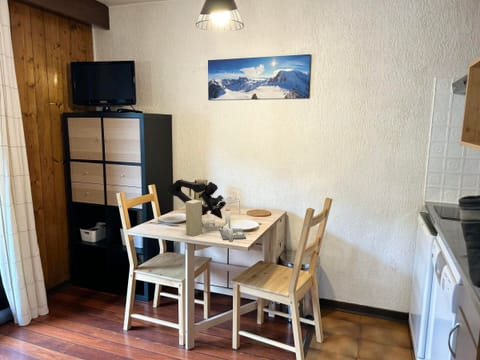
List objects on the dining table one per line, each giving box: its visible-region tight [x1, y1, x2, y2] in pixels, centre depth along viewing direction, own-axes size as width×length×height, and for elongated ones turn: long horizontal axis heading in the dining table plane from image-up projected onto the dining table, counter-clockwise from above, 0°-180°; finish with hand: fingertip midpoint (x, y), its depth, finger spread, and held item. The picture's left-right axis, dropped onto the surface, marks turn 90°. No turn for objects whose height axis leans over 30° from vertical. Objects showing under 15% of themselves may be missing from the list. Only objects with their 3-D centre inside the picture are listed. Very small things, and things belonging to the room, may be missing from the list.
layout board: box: [219, 229, 247, 241], centre depth 217 cm, size 16×14×1 cm
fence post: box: [224, 207, 232, 228], centre depth 218 cm, size 8×3×15 cm, turn 175°
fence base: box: [222, 225, 234, 243], centre depth 210 cm, size 10×4×8 cm, turn 25°
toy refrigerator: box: [185, 199, 203, 237], centre depth 218 cm, size 8×7×21 cm
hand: (221, 218), depth 223 cm, fingers closed
